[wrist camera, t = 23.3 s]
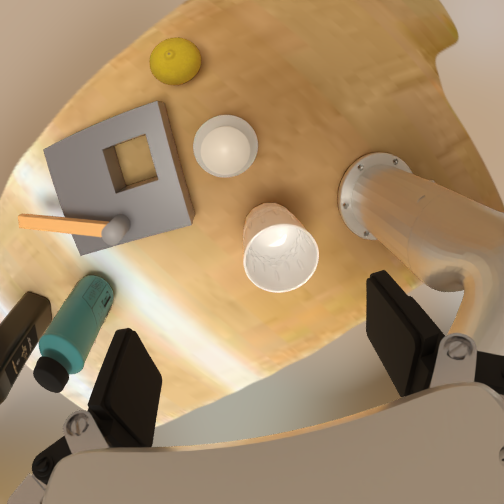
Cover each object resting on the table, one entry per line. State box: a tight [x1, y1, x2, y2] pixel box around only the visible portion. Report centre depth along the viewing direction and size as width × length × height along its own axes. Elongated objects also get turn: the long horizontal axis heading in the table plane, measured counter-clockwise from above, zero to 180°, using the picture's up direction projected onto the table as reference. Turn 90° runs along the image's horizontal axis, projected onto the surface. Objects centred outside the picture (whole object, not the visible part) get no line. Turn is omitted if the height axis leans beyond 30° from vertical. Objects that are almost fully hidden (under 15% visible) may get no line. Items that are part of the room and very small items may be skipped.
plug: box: [193, 115, 258, 177], centre depth 30 cm, size 7×7×10 cm
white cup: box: [243, 203, 319, 292], centre depth 35 cm, size 8×8×10 cm
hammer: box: [18, 214, 130, 245], centre depth 31 cm, size 16×2×4 cm, turn 81°
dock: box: [43, 101, 195, 256], centre depth 33 cm, size 16×15×4 cm
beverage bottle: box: [33, 275, 114, 393], centre depth 32 cm, size 6×7×20 cm
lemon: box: [149, 38, 201, 85], centre depth 26 cm, size 6×6×8 cm
